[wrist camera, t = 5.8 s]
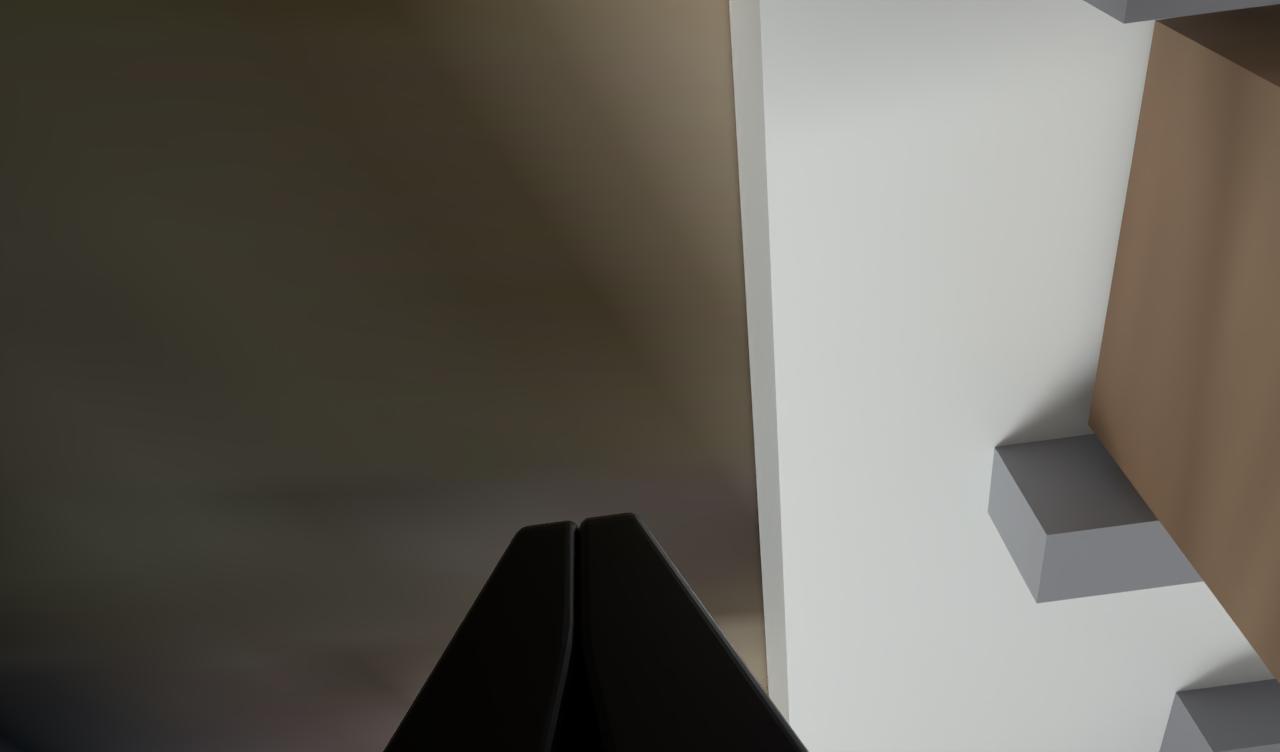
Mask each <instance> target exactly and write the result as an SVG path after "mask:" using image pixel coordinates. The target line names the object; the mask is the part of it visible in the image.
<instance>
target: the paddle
mask: <svg viewBox="0 0 1280 752" xmlns="http://www.w3.org/2000/svg"><path fill="white" fill-rule="evenodd" d="M1088 425H1089V426H1090V428H1091V429H1092V431H1093V432H1094V433H1095V435H1096V436H1097V437H1098V439H1099V440H1100V441H1101V443H1102V444H1103V445H1104V447H1105V448H1106V450H1107V451H1108V452H1109V454H1110V455H1111V456H1112V458H1113V459H1114V460H1115V462H1116V463H1117V464H1118V466H1119V467H1120V468H1121V470H1122V471H1123V473H1124V474H1125V475H1126V477H1127V478H1128V479H1129V481H1130V482H1131V483H1132V485H1133V486H1134V487H1135V489H1136V490H1137V491H1138V493H1139V494H1140V496H1141V497H1142V498H1143V500H1144V501H1145V502H1146V504H1147V505H1148V506H1149V508H1150V509H1151V510H1152V512H1153V513H1154V515H1155V516H1156V517H1157V519H1158V520H1159V521H1160V523H1161V524H1162V525H1163V527H1164V528H1165V529H1166V531H1167V532H1168V533H1169V535H1170V536H1171V538H1172V539H1173V540H1174V542H1175V543H1176V544H1177V546H1178V547H1179V548H1180V550H1181V551H1182V552H1183V554H1184V555H1185V557H1186V558H1187V559H1188V561H1189V562H1190V563H1191V565H1192V566H1193V567H1194V569H1195V570H1196V571H1197V573H1198V574H1199V575H1200V577H1201V578H1202V580H1203V581H1204V582H1205V584H1206V585H1207V586H1208V588H1209V589H1210V590H1211V592H1212V593H1213V594H1214V596H1215V597H1216V599H1217V600H1218V601H1219V603H1220V604H1221V605H1222V607H1223V608H1224V609H1225V611H1226V612H1227V613H1228V615H1229V616H1230V617H1231V619H1232V620H1233V622H1234V623H1235V624H1236V626H1237V627H1238V628H1239V630H1240V631H1241V632H1242V634H1243V635H1244V636H1245V638H1246V639H1247V640H1248V642H1249V643H1250V645H1251V646H1252V647H1253V649H1254V650H1255V651H1256V653H1257V654H1258V655H1259V657H1260V658H1261V659H1262V661H1263V662H1264V664H1265V665H1266V666H1267V668H1268V669H1269V670H1270V672H1271V673H1272V674H1273V676H1274V677H1275V678H1276V680H1277V681H1278V682H1279V684H1280V4H1276V5H1268V6H1260V7H1253V8H1245V9H1237V10H1230V11H1222V12H1214V13H1207V14H1199V15H1191V16H1184V17H1176V18H1168V19H1161V20H1155V25H1154V31H1153V37H1152V43H1151V49H1150V55H1149V61H1148V67H1147V73H1146V79H1145V85H1144V91H1143V97H1142V103H1141V109H1140V115H1139V121H1138V127H1137V133H1136V139H1135V145H1134V151H1133V157H1132V163H1131V169H1130V175H1129V181H1128V187H1127V193H1126V199H1125V205H1124V211H1123V217H1122V223H1121V229H1120V235H1119V241H1118V247H1117V253H1116V259H1115V265H1114V271H1113V277H1112V283H1111V289H1110V295H1109V301H1108V307H1107V313H1106V319H1105V325H1104V331H1103V337H1102V343H1101V349H1100V355H1099V361H1098V367H1097V373H1096V379H1095V385H1094V391H1093V397H1092V403H1091V409H1090V415H1089V421H1088Z"/></svg>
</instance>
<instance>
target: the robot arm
mask: <svg viewBox="0 0 1280 752" xmlns="http://www.w3.org/2000/svg"><path fill="white" fill-rule="evenodd" d="M383 752H809V751H808V750H807V748H806V747H805V746H804V744H803V743H802V742H801V740H800V739H799V737H798V736H797V735H796V733H795V732H794V730H793V729H792V728H791V726H790V725H789V724H788V722H787V721H786V719H785V718H784V717H783V715H782V714H781V712H780V711H779V710H778V708H777V707H776V705H775V704H774V703H773V701H772V700H771V699H770V697H769V696H768V694H767V693H766V692H765V690H764V689H763V687H762V686H761V685H760V683H759V682H758V681H757V679H756V678H755V676H754V675H753V674H752V672H751V671H750V669H749V668H748V667H747V665H746V664H745V662H744V661H743V660H742V658H741V657H740V656H739V654H738V653H737V651H736V650H735V649H734V647H733V646H732V644H731V643H730V642H729V640H728V639H727V638H726V636H725V635H724V633H723V632H722V631H721V629H720V628H719V626H718V625H717V624H716V622H715V621H714V619H713V618H712V617H711V615H710V614H709V613H708V611H707V610H706V608H705V607H704V606H703V604H702V603H701V601H700V600H699V599H698V597H697V596H696V595H695V593H694V592H693V590H692V589H691V588H690V586H689V585H688V583H687V582H686V581H685V579H684V578H683V576H682V575H681V574H680V572H679V571H678V570H677V568H676V567H675V565H674V564H673V563H672V561H671V560H670V558H669V557H668V556H667V554H666V553H665V551H664V550H663V549H662V547H661V546H660V545H659V543H658V542H657V540H656V539H655V538H654V536H653V535H652V533H651V532H650V531H649V529H648V528H647V527H646V525H645V524H644V522H643V521H642V520H641V519H640V518H639V517H638V516H637V515H636V514H633V513H622V514H614V515H607V516H599V517H592V518H587V519H585V520H584V521H583V522H582V523H581V525H580V527H579V528H578V526H577V525H576V524H575V523H574V522H572V521H562V522H554V523H546V524H539V525H531V526H526V527H523V528H522V529H520V530H519V531H518V532H517V533H516V535H515V536H514V538H513V539H512V541H511V543H510V544H509V546H508V548H507V549H506V551H505V553H504V554H503V556H502V557H501V559H500V561H499V562H498V564H497V566H496V567H495V569H494V571H493V572H492V574H491V576H490V577H489V579H488V581H487V582H486V584H485V585H484V587H483V589H482V590H481V592H480V594H479V595H478V597H477V599H476V600H475V602H474V604H473V605H472V607H471V608H470V610H469V612H468V613H467V615H466V617H465V618H464V620H463V622H462V623H461V625H460V627H459V628H458V630H457V631H456V633H455V635H454V636H453V638H452V640H451V641H450V643H449V645H448V646H447V648H446V650H445V651H444V653H443V654H442V656H441V658H440V659H439V661H438V663H437V664H436V666H435V668H434V669H433V671H432V673H431V674H430V676H429V677H428V679H427V681H426V682H425V684H424V686H423V687H422V689H421V691H420V692H419V694H418V696H417V697H416V699H415V700H414V702H413V704H412V705H411V707H410V709H409V710H408V712H407V714H406V715H405V717H404V719H403V720H402V722H401V724H400V725H399V727H398V728H397V730H396V732H395V733H394V735H393V737H392V738H391V740H390V742H389V743H388V745H387V747H386V748H385V750H384V751H383Z"/></svg>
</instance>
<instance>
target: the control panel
mask: <svg viewBox="0 0 1280 752" xmlns="http://www.w3.org/2000/svg"><path fill="white" fill-rule="evenodd" d="M1276 4H1280V0H729V8H730V26H731V43H732V61H733V78H734V96H735V113H736V130H737V148H738V165H739V183H740V200H741V218H742V235H743V253H744V270H745V288H746V305H747V323H748V340H749V358H750V375H751V392H752V410H753V427H754V445H755V462H756V480H757V497H758V515H759V532H760V550H761V567H762V585H763V602H764V619H765V637H766V654H767V672H768V689H769V697H770V699H771V700H772V701H773V703H774V704H775V705H776V707H777V708H778V710H779V711H780V712H781V714H782V715H783V717H784V718H785V719H786V721H787V722H788V724H789V725H790V726H791V728H792V729H793V730H794V732H795V733H796V735H797V736H798V737H799V739H800V740H801V742H802V743H803V744H804V746H805V747H806V748H807V750H808V751H809V752H1280V684H1279V682H1278V681H1277V680H1276V678H1275V677H1274V676H1273V674H1272V673H1271V672H1270V670H1269V669H1268V668H1267V666H1266V665H1265V664H1264V662H1263V661H1262V659H1261V658H1260V657H1259V655H1258V654H1257V653H1256V651H1255V650H1254V649H1253V647H1252V646H1251V645H1250V643H1249V642H1248V640H1247V639H1246V638H1245V636H1244V635H1243V634H1242V632H1241V631H1240V630H1239V628H1238V627H1237V626H1236V624H1235V623H1234V622H1233V620H1232V619H1231V617H1230V616H1229V615H1228V613H1227V612H1226V611H1225V609H1224V608H1223V607H1222V605H1221V604H1220V603H1219V601H1218V600H1217V599H1216V597H1215V596H1214V594H1213V593H1212V592H1211V590H1210V589H1209V588H1208V586H1207V585H1206V584H1205V582H1204V581H1203V580H1202V578H1201V577H1200V575H1199V574H1198V573H1197V571H1196V570H1195V569H1194V567H1193V566H1192V565H1191V563H1190V562H1189V561H1188V559H1187V558H1186V557H1185V555H1184V554H1183V552H1182V551H1181V550H1180V548H1179V547H1178V546H1177V544H1176V543H1175V542H1174V540H1173V539H1172V538H1171V536H1170V535H1169V533H1168V532H1167V531H1166V529H1165V528H1164V527H1163V525H1162V524H1161V523H1160V521H1159V520H1158V519H1157V517H1156V516H1155V515H1154V513H1153V512H1152V510H1151V509H1150V508H1149V506H1148V505H1147V504H1146V502H1145V501H1144V500H1143V498H1142V497H1141V496H1140V494H1139V493H1138V491H1137V490H1136V489H1135V487H1134V486H1133V485H1132V483H1131V482H1130V481H1129V479H1128V478H1127V477H1126V475H1125V474H1124V473H1123V471H1122V470H1121V468H1120V467H1119V466H1118V464H1117V463H1116V462H1115V460H1114V459H1113V458H1112V456H1111V455H1110V454H1109V452H1108V451H1107V450H1106V448H1105V447H1104V445H1103V444H1102V443H1101V441H1100V440H1099V439H1098V437H1097V436H1096V435H1095V433H1094V432H1093V431H1092V429H1091V428H1090V426H1089V425H1088V421H1089V415H1090V409H1091V403H1092V397H1093V391H1094V385H1095V379H1096V373H1097V367H1098V361H1099V355H1100V349H1101V343H1102V337H1103V331H1104V325H1105V319H1106V313H1107V307H1108V301H1109V295H1110V289H1111V283H1112V277H1113V271H1114V265H1115V259H1116V253H1117V247H1118V241H1119V235H1120V229H1121V223H1122V217H1123V211H1124V205H1125V199H1126V193H1127V187H1128V181H1129V175H1130V169H1131V163H1132V157H1133V151H1134V145H1135V139H1136V133H1137V127H1138V121H1139V115H1140V109H1141V103H1142V97H1143V91H1144V85H1145V79H1146V73H1147V67H1148V61H1149V55H1150V49H1151V43H1152V37H1153V31H1154V25H1155V20H1161V19H1168V18H1176V17H1184V16H1191V15H1199V14H1207V13H1214V12H1222V11H1230V10H1237V9H1245V8H1253V7H1260V6H1268V5H1276Z"/></svg>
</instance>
